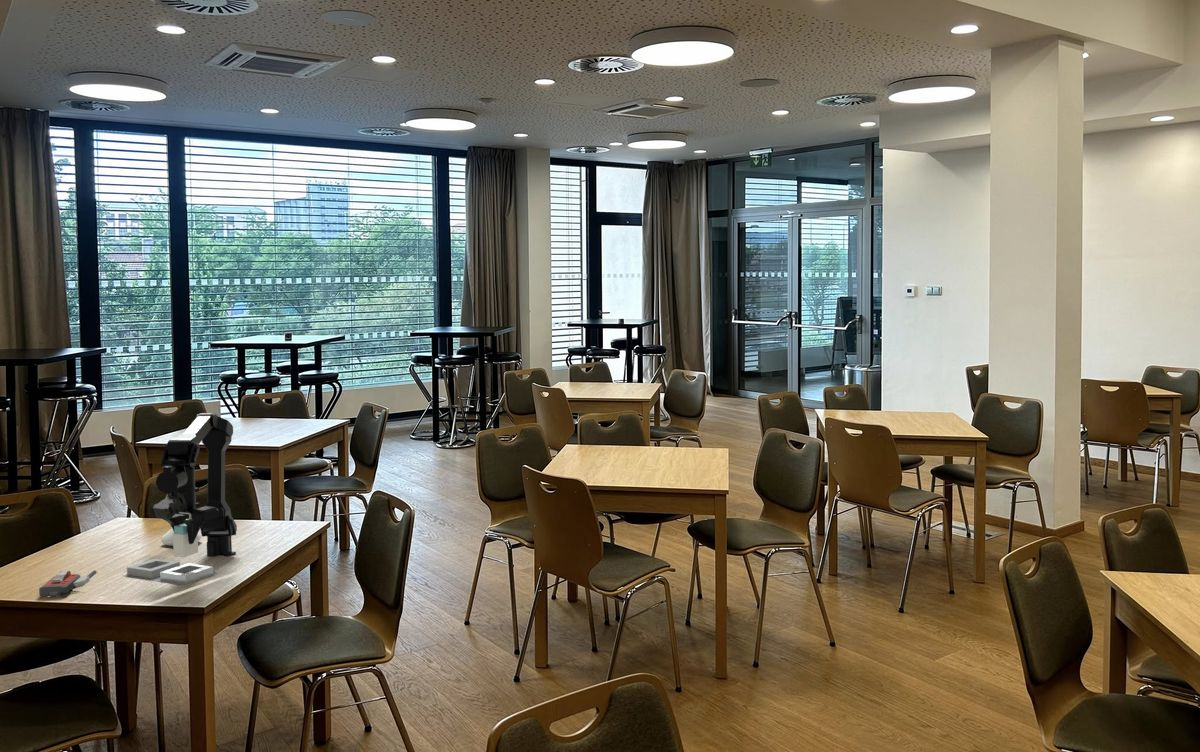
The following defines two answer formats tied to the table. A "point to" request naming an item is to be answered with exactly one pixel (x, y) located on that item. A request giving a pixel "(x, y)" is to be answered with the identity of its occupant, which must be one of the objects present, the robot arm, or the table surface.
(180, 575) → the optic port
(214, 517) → the robot arm
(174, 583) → the station board
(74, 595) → the table surface
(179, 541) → the plug
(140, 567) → the grey square socket frame
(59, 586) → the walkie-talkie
